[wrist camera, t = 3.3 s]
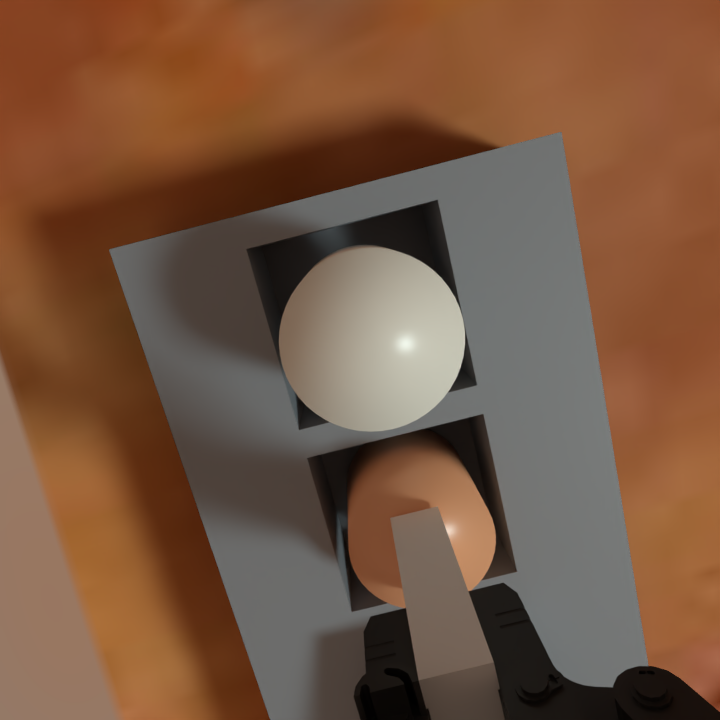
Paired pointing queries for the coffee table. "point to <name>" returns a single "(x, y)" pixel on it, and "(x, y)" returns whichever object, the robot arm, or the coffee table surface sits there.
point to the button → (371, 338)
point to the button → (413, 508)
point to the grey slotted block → (448, 419)
